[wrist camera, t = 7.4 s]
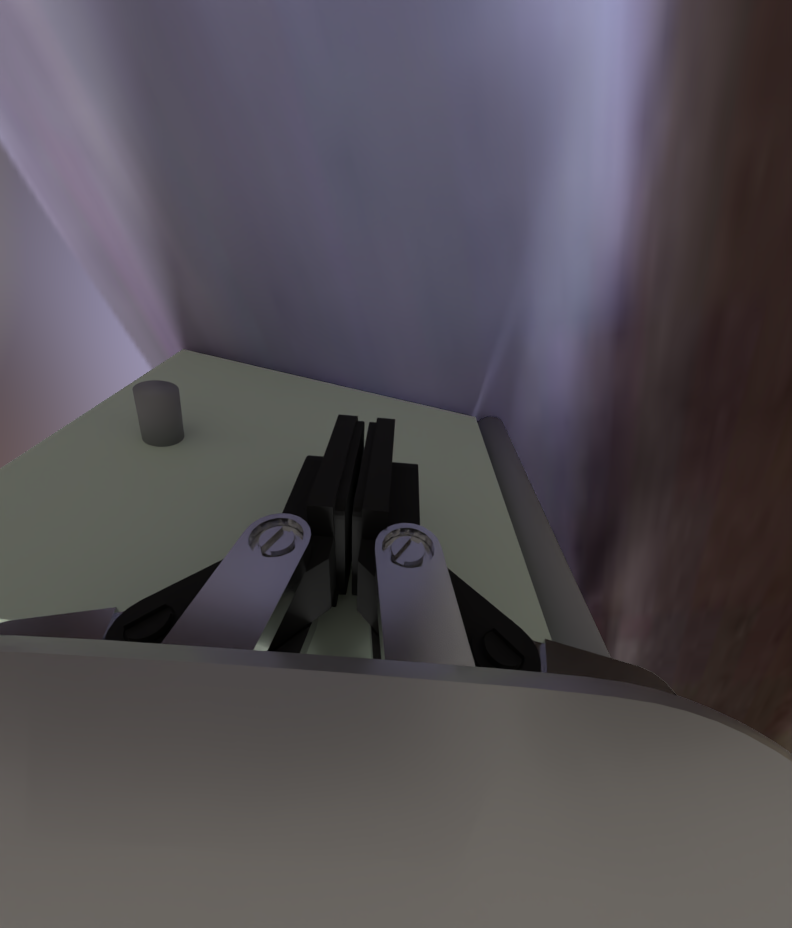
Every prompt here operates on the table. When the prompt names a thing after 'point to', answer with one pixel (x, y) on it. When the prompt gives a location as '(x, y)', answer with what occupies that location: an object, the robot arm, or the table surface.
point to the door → (261, 497)
